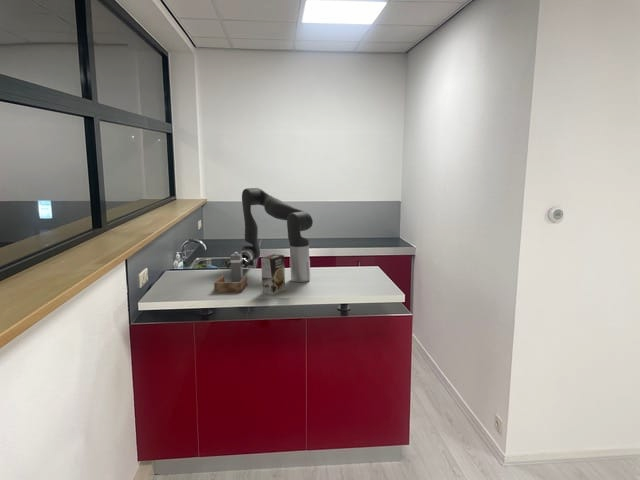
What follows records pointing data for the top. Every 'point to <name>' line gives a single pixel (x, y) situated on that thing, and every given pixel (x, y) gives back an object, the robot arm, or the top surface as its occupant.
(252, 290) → the top surface
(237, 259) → the connector plug
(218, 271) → the top surface
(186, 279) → the top surface
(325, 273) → the top surface
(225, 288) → the caddy
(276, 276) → the coffee box
